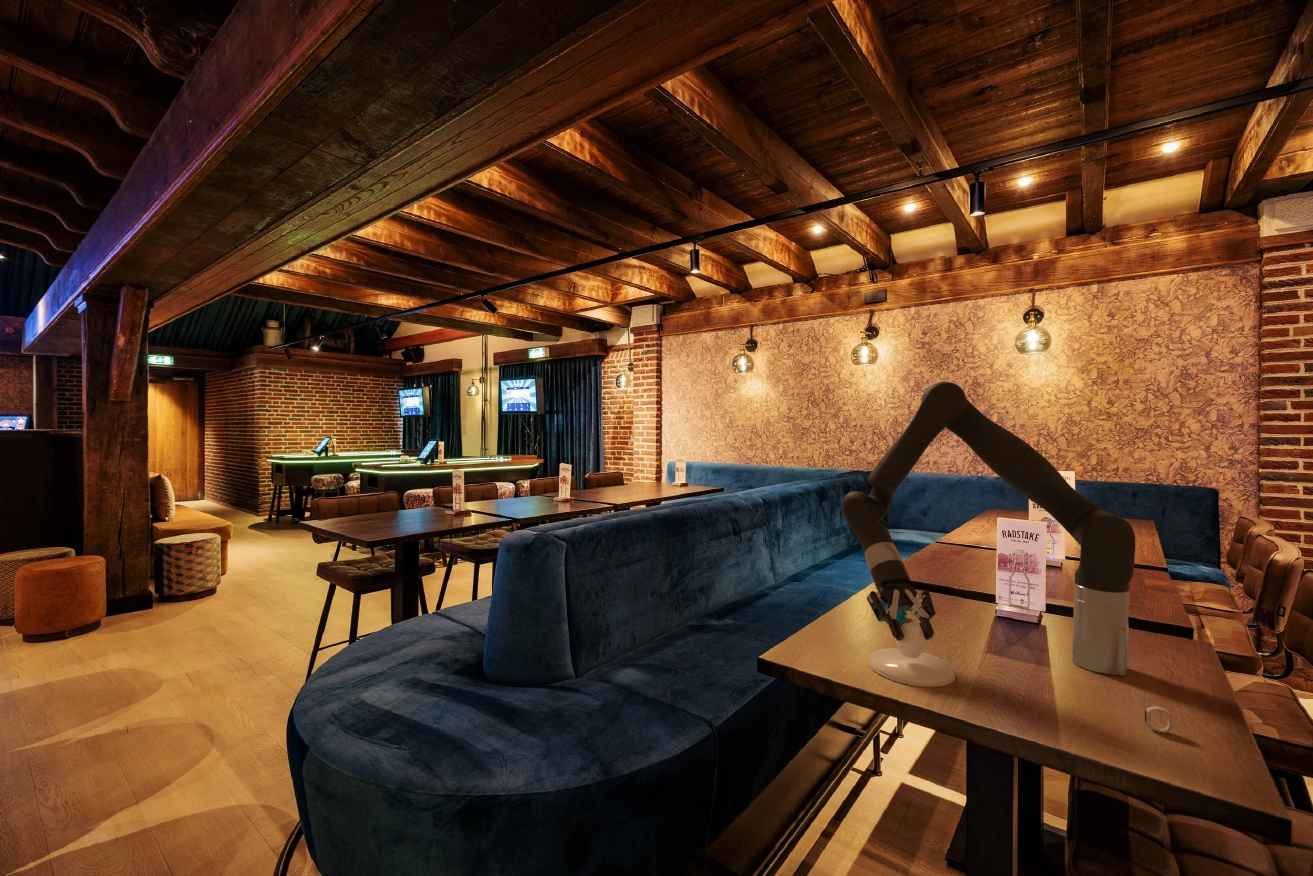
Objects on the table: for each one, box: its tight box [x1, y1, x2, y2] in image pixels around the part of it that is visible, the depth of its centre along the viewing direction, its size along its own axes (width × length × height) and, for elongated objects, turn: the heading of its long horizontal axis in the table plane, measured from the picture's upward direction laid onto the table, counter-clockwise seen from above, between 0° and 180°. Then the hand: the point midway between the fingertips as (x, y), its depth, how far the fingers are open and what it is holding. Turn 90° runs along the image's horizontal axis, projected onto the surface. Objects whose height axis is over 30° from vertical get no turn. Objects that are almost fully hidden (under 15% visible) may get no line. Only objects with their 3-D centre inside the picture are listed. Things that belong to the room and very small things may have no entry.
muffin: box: [894, 622, 927, 658], centre depth 119 cm, size 6×6×7 cm
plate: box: [867, 647, 956, 688], centre depth 119 cm, size 17×17×1 cm
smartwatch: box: [1144, 705, 1175, 734], centre depth 96 cm, size 4×2×4 cm, turn 54°
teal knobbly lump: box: [880, 599, 909, 625], centre depth 151 cm, size 11×6×10 cm
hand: (915, 638), depth 118 cm, fingers closed on muffin, 6 cm apart
